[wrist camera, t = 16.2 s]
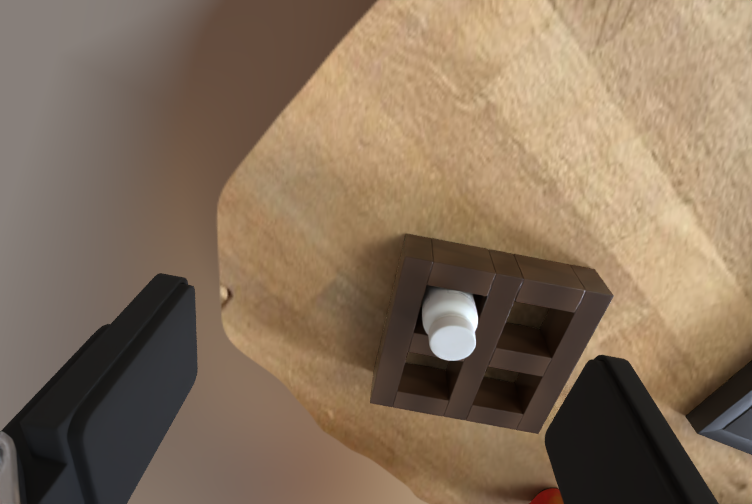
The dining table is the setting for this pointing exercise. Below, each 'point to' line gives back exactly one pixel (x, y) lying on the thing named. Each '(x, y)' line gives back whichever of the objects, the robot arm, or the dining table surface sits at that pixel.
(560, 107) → the dining table surface
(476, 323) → the pill bottle
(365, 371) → the dining table surface
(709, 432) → the picture frame
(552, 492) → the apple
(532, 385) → the grid rack
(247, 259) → the dining table surface
